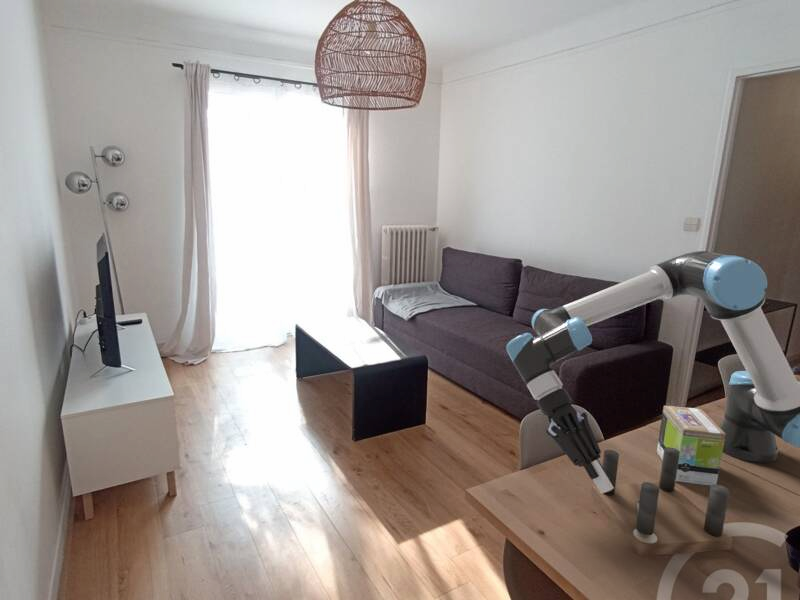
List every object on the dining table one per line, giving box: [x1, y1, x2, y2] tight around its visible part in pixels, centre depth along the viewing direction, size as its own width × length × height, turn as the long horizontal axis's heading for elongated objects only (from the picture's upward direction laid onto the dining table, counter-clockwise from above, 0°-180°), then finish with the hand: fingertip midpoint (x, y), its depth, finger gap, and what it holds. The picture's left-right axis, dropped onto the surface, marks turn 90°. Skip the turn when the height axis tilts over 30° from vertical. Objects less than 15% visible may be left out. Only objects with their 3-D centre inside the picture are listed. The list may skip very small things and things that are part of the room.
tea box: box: [656, 405, 725, 487], centre depth 125 cm, size 15×10×15 cm, turn 168°
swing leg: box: [636, 481, 659, 537], centre depth 100 cm, size 13×3×11 cm, turn 154°
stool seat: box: [590, 447, 734, 557], centre depth 104 cm, size 20×20×12 cm
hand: (607, 490), depth 103 cm, fingers closed
